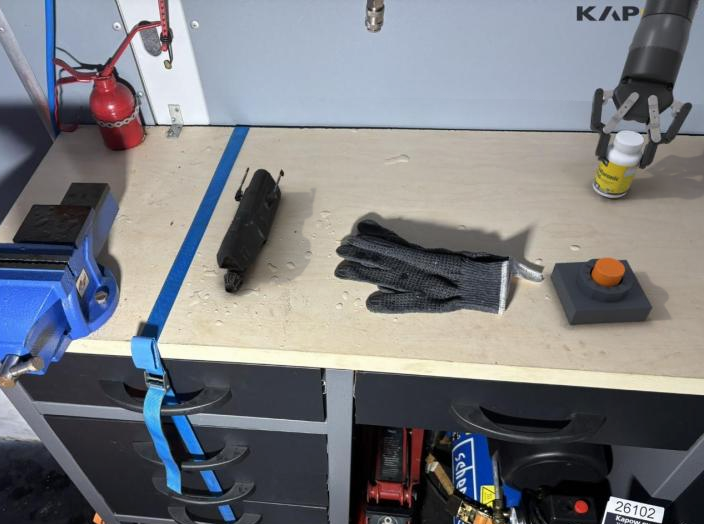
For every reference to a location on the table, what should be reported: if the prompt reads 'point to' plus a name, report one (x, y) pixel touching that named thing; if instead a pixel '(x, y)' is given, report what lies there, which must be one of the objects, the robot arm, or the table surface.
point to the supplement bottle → (619, 165)
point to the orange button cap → (608, 272)
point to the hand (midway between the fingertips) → (621, 163)
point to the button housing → (598, 295)
